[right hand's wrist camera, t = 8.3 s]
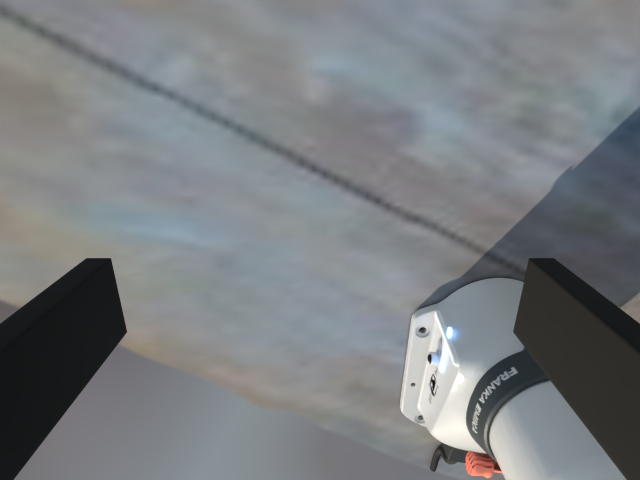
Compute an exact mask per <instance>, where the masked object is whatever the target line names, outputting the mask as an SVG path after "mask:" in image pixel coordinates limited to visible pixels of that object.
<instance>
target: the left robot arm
mask: <svg viewBox="0 0 640 480" xmlns="http://www.w3.org/2000/svg"><path fill="white" fill-rule="evenodd" d="M523 284H524V282H522V281H519V280H515V279H509V278H490V279H484V280H480V281H476V282H473V283H470V284H468V285H466V286H464V287H462V288H460V289H458V290H457V291H455V292H454V293H452V294H451V295H449V296H448V297H447V298H445V299H444V300H443V301H441V302H439V303H437V304H434V305H430V306H427V307H424V308H422V309H419V310H417V311H416V312H415V313H414V314H413V316H412V319H411V326H410V333H409V341H408V348H407V355H406V362H405V370H404V377H403V384H402V392H401V399H400V408H401V411H402V413H403V414H404V415H405V416H406V417H408V418H409V419H410V420H412V421H414V422H416V423H418V424H420V425H422V426H425V427H427V428H428V430H429V432H430V433H431V434H432V435H433V436H434V437H435V438H436V439H438V440H439V441H441V442H442V445H443V447H438V448H437V449H436V450H435V452H434V455H433V459H432V463H431V466H430V469H431V471H433V472H434V471H436V468H437V465H438V461H439V458H440V455H442V457H443V459H444V461H445V462H446V463H448V464H455V463H457V462H462V463H466V467H467V468H466V469H467V471H468V473H469V474H471V475H472V476H485V477H486V478H490V477H491V476H492V475H493V472H498V473H503V475H504V477H505V479H506V480H626V478H625V477H624V476H623V475H622V473H621V472H620V471H619V469H618V468H617V467H616V465H615V464H614V463H613V462H612V460H611V459H610V458H609V456H608V455H607V454H606V452H605V451H604V450H603V448H602V447H601V446H600V445H599V443H598V442H597V441H596V439H595V438H594V437H593V435H592V434H591V433H590V432H589V430H588V429H587V428H586V426H585V425H584V424H583V422H582V421H581V420H580V419H579V417H578V416H577V415H576V413H575V412H574V411H573V409H572V408H571V407H570V406H569V404H568V403H567V402H566V400H565V399H564V398H563V396H562V395H561V394H560V393H559V391H558V390H557V389H556V387H555V386H554V385H553V383H552V382H551V381H550V380H549V378H548V377H547V376H546V374H545V373H544V372H543V370H542V369H541V368H540V367H539V365H538V364H537V363H536V361H535V360H534V359H533V357H532V356H531V355H530V354H529V352H528V351H527V350H526V348H525V347H524V346H523V344H522V343H521V342H520V341H519V339H518V338H517V337H516V335H515V334H514V333H513V330H514V325H515V321H516V316H517V311H518V307H519V302H520V298H521V293H522V289H523ZM421 327H425V328H424V329H422V330H419V329H420V328H421ZM420 415H421V416H420ZM485 453H487V454H485ZM492 459H493V460H492Z"/></svg>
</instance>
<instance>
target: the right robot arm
mask: <svg viewBox="0 0 640 480" xmlns="http://www.w3.org/2000/svg"><path fill="white" fill-rule="evenodd" d="M126 333H127V330H126V325H125V321H124V316H123V311H122V307H121V302H120V298H119V293H118V289H117V284H116V279H115V275H114V270H113V266H112V261H111V258H86V259H85V260H84V261H82V262H81V263H80V264H78V265H77V266H76V267H74V268H73V269H72V270H70V271H69V272H68V273H66V274H65V275H64V276H62V277H61V278H60V279H59V280H57V281H56V282H55V283H53V284H52V285H51V286H49V287H48V288H47V289H45V290H44V291H43V292H41V293H40V294H39V295H37V296H36V297H35V298H34V299H32V300H31V301H30V302H28V303H27V304H26V305H24V306H23V307H22V308H20V309H19V310H18V311H16V312H15V313H14V314H12V315H11V316H10V317H9V318H7V319H6V320H5V321H3V322H2V323H1V324H0V480H14V478H15V477H16V476H17V475H18V473H19V472H20V471H21V469H22V468H23V467H24V465H25V464H26V463H27V461H28V460H29V459H30V458H31V456H32V455H33V454H34V452H35V451H36V450H37V448H38V447H39V446H40V445H41V443H42V442H43V441H44V439H45V438H46V437H47V435H48V434H49V433H50V432H51V430H52V429H53V428H54V426H55V425H56V424H57V422H58V421H59V420H60V419H61V417H62V416H63V415H64V413H65V412H66V411H67V409H68V408H69V407H70V406H71V404H72V403H73V402H74V400H75V399H76V398H77V396H78V395H79V394H80V393H81V391H82V390H83V389H84V387H85V386H86V385H87V383H88V382H89V381H90V380H91V378H92V377H93V376H94V374H95V373H96V372H97V370H98V369H99V368H100V367H101V365H102V364H103V363H104V361H105V360H106V359H107V357H108V356H109V355H110V354H111V352H112V351H113V350H114V348H115V347H116V346H117V344H118V343H119V342H120V341H121V339H122V338H123V337H124V335H125V334H126ZM513 333H514V334H515V335H516V337H517V338H518V339H519V341H520V342H521V343H522V344H523V346H524V347H525V348H526V350H527V351H528V352H529V354H530V355H531V356H532V357H533V359H534V360H535V361H536V363H537V364H538V365H539V367H540V368H541V369H542V370H543V372H544V373H545V374H546V376H547V377H548V378H549V380H550V381H551V382H552V383H553V385H554V386H555V387H556V389H557V390H558V391H559V393H560V394H561V395H562V396H563V398H564V399H565V400H566V402H567V403H568V404H569V406H570V407H571V408H572V409H573V411H574V412H575V413H576V415H577V416H578V417H579V419H580V420H581V421H582V422H583V424H584V425H585V426H586V428H587V429H588V430H589V432H590V433H591V434H592V435H593V437H594V438H595V439H596V441H597V442H598V443H599V445H600V446H601V447H602V448H603V450H604V451H605V452H606V454H607V455H608V456H609V458H610V459H611V460H612V462H613V463H614V464H615V465H616V467H617V468H618V469H619V471H620V472H621V473H622V475H623V476H624V477H625V478H626V480H640V324H639V323H638V322H637V321H635V320H634V319H633V318H632V317H630V316H629V315H628V314H626V313H625V312H624V311H622V310H621V309H620V308H618V307H617V306H616V305H614V304H613V303H612V302H610V301H609V300H608V299H606V298H605V297H604V296H603V295H601V294H600V293H599V292H597V291H596V290H595V289H593V288H592V287H591V286H589V285H588V284H587V283H585V282H584V281H583V280H581V279H580V278H579V277H578V276H576V275H575V274H574V273H572V272H571V271H570V270H568V269H567V268H566V267H564V266H563V265H562V264H560V263H559V262H558V261H556V260H555V259H554V258H529V261H528V266H527V270H526V275H525V279H524V284H523V289H522V293H521V298H520V302H519V307H518V311H517V316H516V321H515V325H514V330H513Z"/></svg>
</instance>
